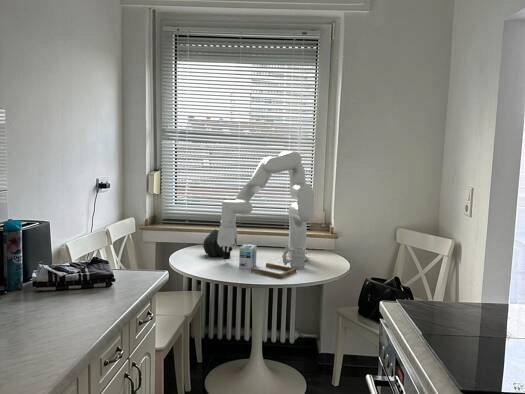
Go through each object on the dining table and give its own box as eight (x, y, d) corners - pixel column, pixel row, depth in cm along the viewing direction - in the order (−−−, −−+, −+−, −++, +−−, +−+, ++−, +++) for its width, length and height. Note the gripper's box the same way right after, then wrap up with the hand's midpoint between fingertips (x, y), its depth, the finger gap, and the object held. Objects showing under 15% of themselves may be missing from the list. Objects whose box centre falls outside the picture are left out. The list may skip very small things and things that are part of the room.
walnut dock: (267, 266, 230) (267, 262, 229) (296, 272, 220) (296, 268, 220) (250, 272, 218) (250, 268, 218) (280, 278, 208) (281, 274, 208)
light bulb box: (251, 270, 222) (252, 248, 221) (238, 269, 223) (239, 247, 222) (256, 265, 232) (257, 244, 231) (243, 264, 233) (244, 243, 232)
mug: (306, 269, 227) (307, 246, 225) (282, 269, 226) (283, 245, 225) (303, 266, 234) (304, 243, 233) (281, 265, 233) (282, 242, 232)
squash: (225, 250, 239) (229, 226, 248) (198, 249, 242) (203, 225, 251) (230, 263, 250) (234, 240, 259) (204, 262, 253) (209, 239, 262)
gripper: (212, 223, 234) (211, 257, 236) (235, 226, 226) (233, 262, 227) (221, 221, 240) (220, 255, 242) (244, 225, 232) (242, 260, 233)
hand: (226, 258), depth 234 cm, fingers closed
